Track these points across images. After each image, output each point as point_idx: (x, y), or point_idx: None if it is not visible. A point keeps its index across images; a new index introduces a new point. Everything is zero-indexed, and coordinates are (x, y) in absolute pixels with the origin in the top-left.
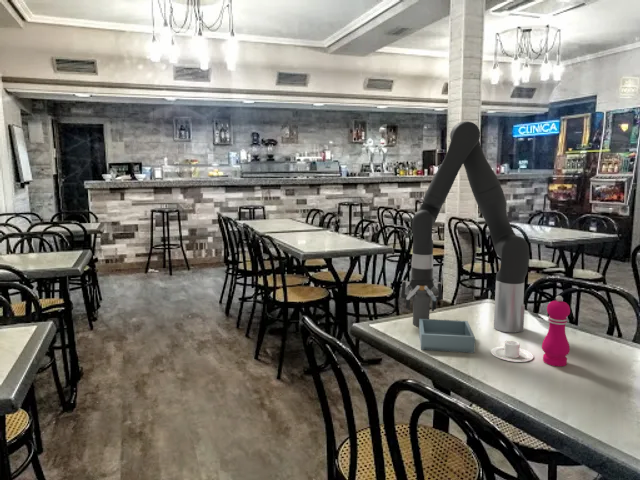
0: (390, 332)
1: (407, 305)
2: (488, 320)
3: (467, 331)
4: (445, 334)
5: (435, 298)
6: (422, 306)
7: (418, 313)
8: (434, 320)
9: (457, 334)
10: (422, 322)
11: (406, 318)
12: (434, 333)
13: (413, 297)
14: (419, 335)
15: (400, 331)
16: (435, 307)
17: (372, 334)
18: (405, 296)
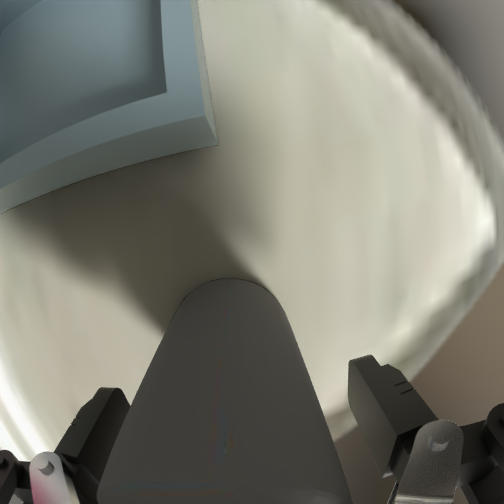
0: (400, 110)
1: (390, 385)
2: (11, 415)
3: None
4: (47, 126)
5: (33, 473)
6: (186, 378)
7: (244, 325)
8: (57, 133)
9: (3, 161)
10: (165, 18)
11: (330, 403)
12: (103, 109)
13: (350, 498)
14: (205, 65)
15: (351, 139)
16: (81, 413)
17: (458, 76)
18: (471, 447)
